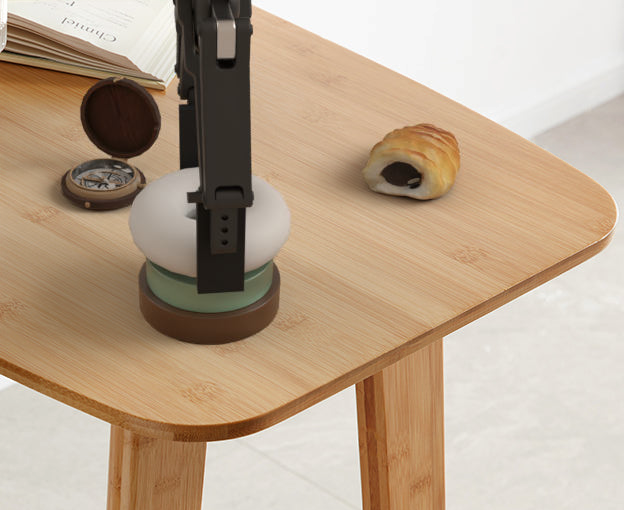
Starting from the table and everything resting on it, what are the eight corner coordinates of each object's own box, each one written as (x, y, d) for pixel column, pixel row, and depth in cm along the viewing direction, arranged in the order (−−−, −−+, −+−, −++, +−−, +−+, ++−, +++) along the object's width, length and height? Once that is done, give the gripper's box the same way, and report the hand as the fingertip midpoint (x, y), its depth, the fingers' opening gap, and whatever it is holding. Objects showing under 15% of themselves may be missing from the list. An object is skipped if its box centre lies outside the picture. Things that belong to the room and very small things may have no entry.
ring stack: (135, 266, 76) (133, 215, 74) (268, 259, 78) (270, 208, 75) (144, 349, 69) (142, 295, 67) (290, 339, 71) (292, 286, 68)
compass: (47, 205, 82) (39, 113, 77) (89, 155, 88) (83, 67, 84) (153, 223, 80) (150, 131, 76) (188, 171, 87) (187, 83, 82)
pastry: (395, 138, 93) (400, 96, 91) (474, 157, 91) (482, 114, 89) (356, 190, 86) (361, 145, 84) (442, 212, 84) (449, 167, 82)
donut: (272, 301, 66) (303, 212, 74) (274, 252, 64) (306, 166, 72) (108, 277, 67) (155, 192, 75) (104, 228, 65) (153, 146, 73)
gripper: (326, -58, 49) (301, 346, 62) (252, -185, 67) (245, 151, 80) (151, -56, 48) (163, 356, 61) (124, -187, 66) (138, 155, 79)
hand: (210, 240), depth 70 cm, fingers closed on donut, 10 cm apart
